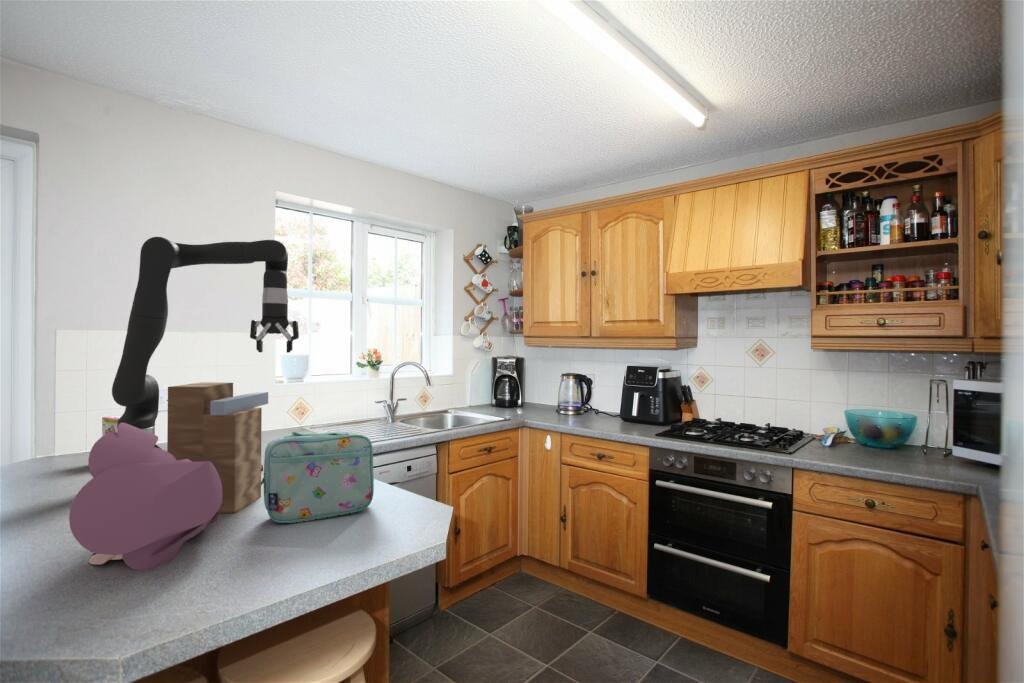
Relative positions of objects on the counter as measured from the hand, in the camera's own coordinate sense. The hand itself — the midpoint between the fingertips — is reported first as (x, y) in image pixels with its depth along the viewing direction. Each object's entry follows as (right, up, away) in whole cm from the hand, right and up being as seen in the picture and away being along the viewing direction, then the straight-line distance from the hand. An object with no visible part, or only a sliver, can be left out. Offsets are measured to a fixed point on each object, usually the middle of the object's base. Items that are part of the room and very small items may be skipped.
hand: (274, 352), depth 165 cm
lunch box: (+28, -41, -37) cm, 62 cm away
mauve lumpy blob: (+2, -40, -59) cm, 72 cm away
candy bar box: (-62, -40, +14) cm, 75 cm away
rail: (+3, -15, -25) cm, 30 cm away
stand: (-2, -40, -30) cm, 50 cm away
